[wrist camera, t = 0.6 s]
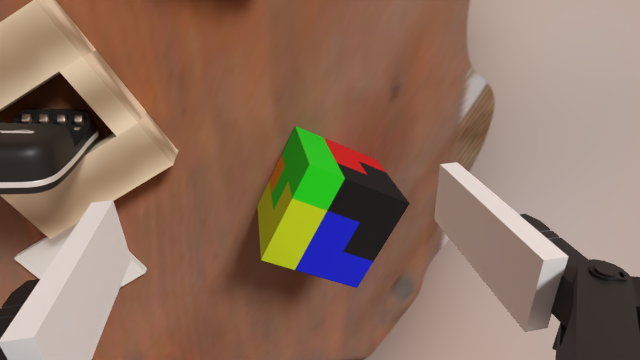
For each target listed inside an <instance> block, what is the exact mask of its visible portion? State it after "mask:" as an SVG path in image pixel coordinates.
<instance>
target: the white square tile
mask: <svg viewBox="0 0 640 360" xmlns="http://www.w3.org/2000/svg"><path fill="white" fill-rule="evenodd" d="M77 224H78V223H76V224H74V225H73V226H71V227H69V228H68V229H66V230H64V231H63V232H61V233H60V234H58V235H56V236H55V237H53V238H51V239H50V238H48V237H45V238H43V239H42V240H40V241H38V242H37V243H35V244H33V245H32V246H30V247H28V248H27V249H25V250H24V251H22V252H20V253H19V254H17V255H16V257H15V258H14V259H15V260H16V261H17V262H19V263H20V264H21V265H22V266H24V267H25V268H26V269H27V270H29V271H30V272H31V273H32V274H34V275H35V276H36V277H37V278H39V279H41V278H42V276H43V275H44V273H45V272H46V270H47V269H48V267H49V266H50V264H51V263H52V261H53V260H54V258H55V257H56V255H57V254H58V252H59V251H60V249H61V248H62V246H63V245H64V243H65V242H66V240H67V239H68V237H69V236H70V234H71V233H72V231H73V230H74V228H75V227H76V225H77ZM129 254H130V257H131V260H130V263H129V265H128V268H127V270H126V273H125V275H124V278H123V281H122V283H121V286H120V287H122V286H124V285H125V284H127V283H129V282H131V281H132V280H134V279H136V278H137V277H139V276H141V275H143V274H144V273H146V270H147V268H146V267H145V266H144V265H143V264H142V263H141V262H140V261H139V260H138V259H137V258H136V257H135V256H134V255H133V254H132V253H131V252H129Z"/></svg>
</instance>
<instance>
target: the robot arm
mask: <svg viewBox="0 0 640 360" xmlns="http://www.w3.org/2000/svg"><path fill="white" fill-rule="evenodd" d="M434 220H435V221H436V222H437V224H438V225H439V226H440V227H441V229H442V230H443V231H444V232H445V234H446V235H447V236H448V237H449V238H450V240H451V241H452V242H453V243H454V245H455V246H456V247H457V248H458V250H459V251H460V252H461V253H462V255H463V256H464V257H465V258H466V260H467V261H468V262H469V263H470V265H471V266H472V267H473V268H474V269H475V271H476V272H477V273H478V274H479V276H480V277H481V278H482V279H483V281H484V282H485V283H486V284H487V285H488V287H489V288H490V289H491V291H492V292H493V293H494V294H495V296H496V297H497V298H498V299H499V300H500V302H501V303H502V304H503V305H504V307H505V308H506V309H507V310H508V312H509V313H510V314H511V315H512V316H513V318H514V319H515V320H516V321H517V323H518V324H519V325H520V327H521V328H522V329H523V330H524V331H525V332H527V331H532V330H538V329H544V328H547V327H548V324H549V320H550V317H551V314H553V315H554V316H555V317H556V318H557V319H558V320H559V321H560V322H561V323H560V326H559V329H558V332H557V335H556V338H555V342H554V345H553V349H555V350H556V360H640V277H631V276H630V275H629V274H628V273H626V272H625V271H624V270H623V269H621V268H620V267H618V266H616V265H614V264H611V263H608V262H605V261H601V260H594V259H593V260H588V259H587V258H585V257H584V256H583V255H582V254H580V253H579V252H578V251H577V250H575V249H574V248H573V247H572V246H571V245H569V244H568V243H567V242H566V241H564V240H563V239H562V238H559V236H558V235H557V234H556V233H554V232H553V231H550V229H549V228H548V227H547V226H546V225H545V224H543V223H542V222H541V221H539V220H537V219H535V218H533V217H531V216H529V215H527V214H522V215H519V214H518V213H516V212H515V211H514V210H513V209H512V208H510V207H509V206H508V205H507V204H506V203H505V202H503V201H502V200H501V199H500V198H499V197H497V196H496V195H495V194H494V193H493V192H491V191H490V190H489V189H488V188H487V187H486V186H484V185H483V184H482V183H481V182H480V181H478V180H477V179H476V178H475V177H474V176H473V175H471V174H470V173H469V172H468V171H467V170H466V169H464V168H463V167H462V166H461V165H460V164H458V163H448V164H440V171H439V180H438V189H437V199H436V208H435V217H434ZM130 260H131V257H130V254H129V250H128V247H127V244H126V241H125V237H124V234H123V231H122V228H121V224H120V221H119V218H118V214H117V211H116V208H115V205H114V201H113V200H110V201H101V202H92V203H91V204H90V206H89V207H88V209H87V210H86V212H85V213H84V215H83V216H82V218H81V219H80V221H79V222H78V224H77V225H76V227H75V228H74V230H73V231H72V233H71V234H70V236H69V237H68V239H67V240H66V242H65V243H64V245H63V246H62V248H61V249H60V251H59V252H58V254H57V255H56V257H55V258H54V260H53V261H52V263H51V264H50V266H49V267H48V269H47V270H46V272H45V273H44V275H43V276H42V278H41V279H37V280H29V281H26V282H25V283H24V284H23V285H21V286H20V287H19V288H18V289H16V290H15V291H14V292H12V293H11V295H10V296H9V297H8V299H7V300H6V302H5V303H4V304H3V306H2V309H0V360H91V359H92V357H93V354H94V352H95V349H96V347H97V344H98V342H99V339H100V337H101V334H102V331H103V329H104V326H105V324H106V321H107V319H108V316H109V314H110V311H111V309H112V306H113V303H114V301H115V298H116V296H117V293H118V291H119V288H120V286H121V283H122V281H123V278H124V275H125V273H126V270H127V268H128V265H129V263H130Z"/></svg>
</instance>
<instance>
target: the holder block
mask: <svg viewBox="0 0 640 360" xmlns="http://www.w3.org/2000/svg"><path fill="white" fill-rule="evenodd" d="M60 73H61V74H62V75H63V76H64V77H65V79H66V80H67V81H68V82H69V83H70V84H71V85H72V86H73V88H74V89H75V90H76V91H77V92H78V93H79V94H80V95H81V97H82V98H83V99H84V100H85V101H86V102H87V103H88V105H89V106H90V107H91V108H92V109H93V110H94V111H95V112H96V114H97V115H98V116H99V117H100V118H101V119H102V120H103V121H104V123H105V124H106V125H107V126H108V127H109V128H110V129H111V131H112V132H113V133H111V134H110V135H108V136H106V137H105V138H103V139H102V140H100V141H98V142H97V143H95V144H94V145H93V146H92V148H91V149H90V150H89V151H88V152H87V153H86V154H85V156H84V157H83V159H82V160H81V161H80V162H79V164H78V165H77V166H76V167H75V169H74V170H73V171H72V172H71V173H70V174H69V175H68V176H67V177H66V178H65V179H64V180H63V181H62V182H61V183H60V184H59V185H58V186H56V187H55V188H53V189H51V190H48V191H45V192H41V193H35V194H1V195H0V196H1V197H3V198H4V199H5V200H6V201H7V202H8V203H9V204H11V205H12V206H13V207H14V208H15V209H16V210H17V211H19V212H20V213H21V214H22V215H23V216H24V217H25V218H27V219H28V220H29V221H30V222H31V223H32V224H34V225H35V226H36V227H37V228H38V229H39V230H40V231H42V232H43V233H44V234H45V235H46V236H47V237H48V238H50V239H51V238H53V237H55V236H56V235H58V234H60V233H61V232H63V231H64V230H66V229H68V228H69V227H71V226H73V225H74V224H76V223H78V222H79V221H80V219H81V218H82V216H83V215H84V213H85V212H86V210H87V209H88V207H89V206H90V204H91V203H92V202H101V201H110V200H113V201H114V200H116V199H117V198H119V197H121V196H122V195H124V194H126V193H127V192H129V191H131V190H132V189H134V188H136V187H137V186H139V185H141V184H142V183H144V182H146V181H147V180H149V179H151V178H152V177H154V176H156V175H157V174H159V173H160V172H162V171H164V170H165V169H167V168H169V167H170V166H172V165H173V164H174V161H175V158H176V156H177V153H178V150H177V149H176V148H175V146H174V145H173V144H172V143H171V141H170V140H169V139H168V138H167V137H166V135H165V134H164V133H163V132H162V130H161V129H160V128H159V127H158V126H157V124H156V123H155V122H154V121H153V119H152V118H151V117H150V116H149V114H148V113H147V112H146V111H145V110H144V108H143V107H142V106H141V105H140V103H139V102H138V101H137V100H136V99H135V97H134V96H133V95H132V94H131V92H130V91H129V90H128V89H127V87H126V86H125V85H124V84H123V83H122V81H121V80H120V79H119V78H118V76H117V75H116V74H115V73H114V71H113V70H112V69H111V68H110V67H109V65H108V64H107V63H106V62H105V60H104V59H103V58H102V57H101V56H100V54H99V53H98V52H97V51H96V49H95V48H94V47H93V46H92V44H91V43H90V42H89V41H88V40H87V38H86V37H85V36H84V35H83V33H82V32H81V31H80V30H79V28H78V27H77V26H76V25H75V24H74V22H73V21H72V20H71V19H70V17H69V16H68V15H67V14H66V13H65V11H64V10H63V9H62V8H61V6H60V5H59V4H58V3H57V1H56V0H33V1H32V2H30V3H29V4H27V5H26V6H24V7H23V8H21V9H20V10H18V11H17V12H15V13H14V14H12V15H11V16H9V17H8V18H6V19H5V20H3V21H2V22H0V112H1V111H2V110H4V109H5V108H7V107H8V106H10V105H12V104H13V103H15V102H16V101H18V100H19V99H21V98H22V97H24V96H26V95H27V94H29V93H30V92H32V91H33V90H35V89H36V88H38V87H40V86H41V85H43V84H44V83H46V82H47V81H49V80H50V79H52V78H54V77H55V76H57V75H58V74H60Z"/></svg>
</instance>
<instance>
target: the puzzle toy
mask: <svg viewBox="0 0 640 360" xmlns="http://www.w3.org/2000/svg"><path fill="white" fill-rule="evenodd" d="M409 204H410V203H409V202H408V201H407V199H406V198H405V197H404V196H403V194H402V193H401V192H400V190H399V189H398V188H397V186H396V185H395V184H394V182H393V181H392V180H391V178H390V177H389V176H388V174H387V173H386V172H385V170H384V169H383V168H382V167H381V165H380V164H379V163H378V161H377V160H375V159H373V158H370V157H368V156H366V155H363V154H361V153H358V152H356V151H354V150H351V149H349V148H346V147H344V146H342V145H339V144H337V143H335V142H332V141H330V140H327V139H325V138H323V137H320V136H318V135H316V134H313V133H311V132H308V131H306V130H304V129H301V128H299V127H296V126H295V128H294V130H293V132H292V134H291V136H290V138H289V140H288V142H287V145H286V147H285V149H284V151H283V153H282V155H281V157H280V159H279V161H278V163H277V165H276V168H275V170H274V172H273V174H272V176H271V178H270V180H269V182H268V184H267V186H266V189H265V191H264V193H263V195H262V197H261V199H260V201H259V203H258V205H257V208H258V223H259V238H260V253H261V260H262V261H266V262H269V263H272V264H276V265H279V266H283V267H286V268H290V269H293V270H297V271H300V272H304V273H307V274H311V275H314V276H317V277H321V278H324V279H328V280H331V281H335V282H338V283H342V284H345V285H349V286H352V287H356V288H357V287H358V285H359V284H360V282H361V280H362V279H363V277H364V276H365V274H366V272H367V271H368V269H369V268H370V266H371V264H372V263H373V261H374V260H375V258H376V256H377V255H378V253H379V252H380V250H381V248H382V247H383V245H384V244H385V242H386V240H387V239H388V237H389V236H390V234H391V232H392V231H393V229H394V228H395V226H396V224H397V223H398V221H399V220H400V218H401V216H402V215H403V213H404V212H405V210H406V208H407V207H408V205H409Z"/></svg>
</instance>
